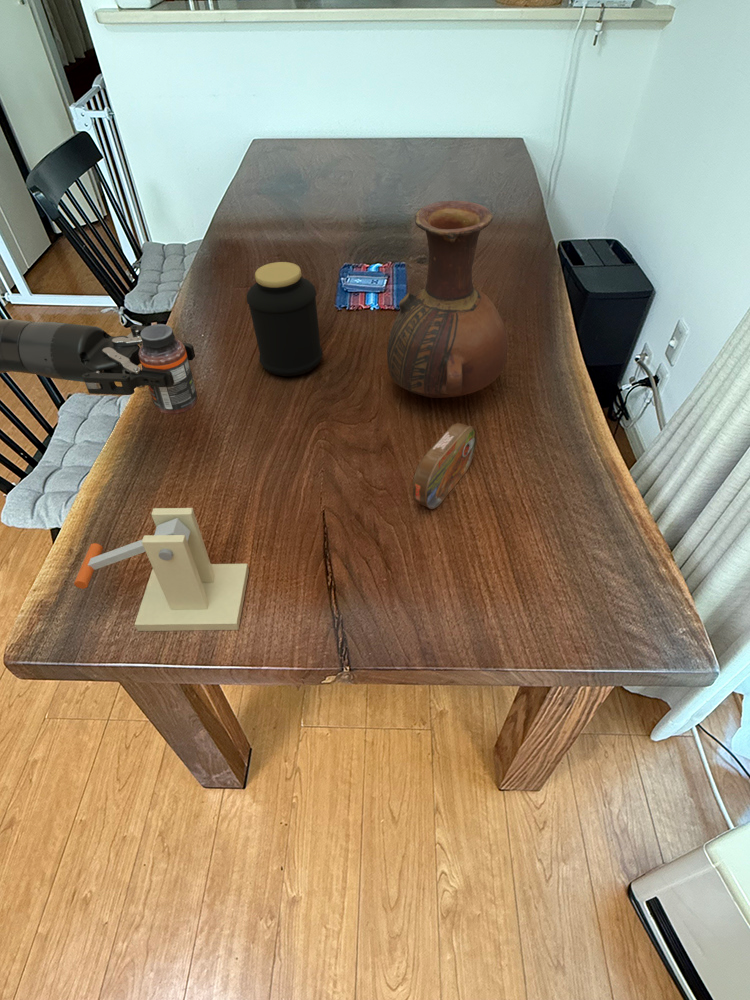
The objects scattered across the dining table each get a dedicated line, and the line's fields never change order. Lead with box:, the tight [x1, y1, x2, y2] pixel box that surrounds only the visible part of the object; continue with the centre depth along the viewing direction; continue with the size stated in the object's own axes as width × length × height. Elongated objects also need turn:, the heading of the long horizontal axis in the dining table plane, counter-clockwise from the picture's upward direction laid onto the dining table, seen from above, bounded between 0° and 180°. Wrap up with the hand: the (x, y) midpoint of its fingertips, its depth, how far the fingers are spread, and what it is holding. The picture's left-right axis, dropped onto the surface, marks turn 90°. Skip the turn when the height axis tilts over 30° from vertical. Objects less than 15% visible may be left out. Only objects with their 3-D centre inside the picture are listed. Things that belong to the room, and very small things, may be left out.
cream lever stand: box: [134, 507, 250, 632], centre depth 69 cm, size 12×9×14 cm
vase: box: [386, 200, 508, 399], centre depth 95 cm, size 25×20×30 cm
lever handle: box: [73, 518, 191, 589], centre depth 67 cm, size 14×6×2 cm, turn 91°
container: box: [246, 261, 324, 377], centre depth 105 cm, size 12×12×18 cm
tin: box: [412, 422, 478, 510], centre depth 85 cm, size 15×3×8 cm, turn 146°
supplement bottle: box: [139, 323, 198, 416], centre depth 80 cm, size 6×6×11 cm
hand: (182, 365), depth 79 cm, fingers closed on supplement bottle, 6 cm apart
